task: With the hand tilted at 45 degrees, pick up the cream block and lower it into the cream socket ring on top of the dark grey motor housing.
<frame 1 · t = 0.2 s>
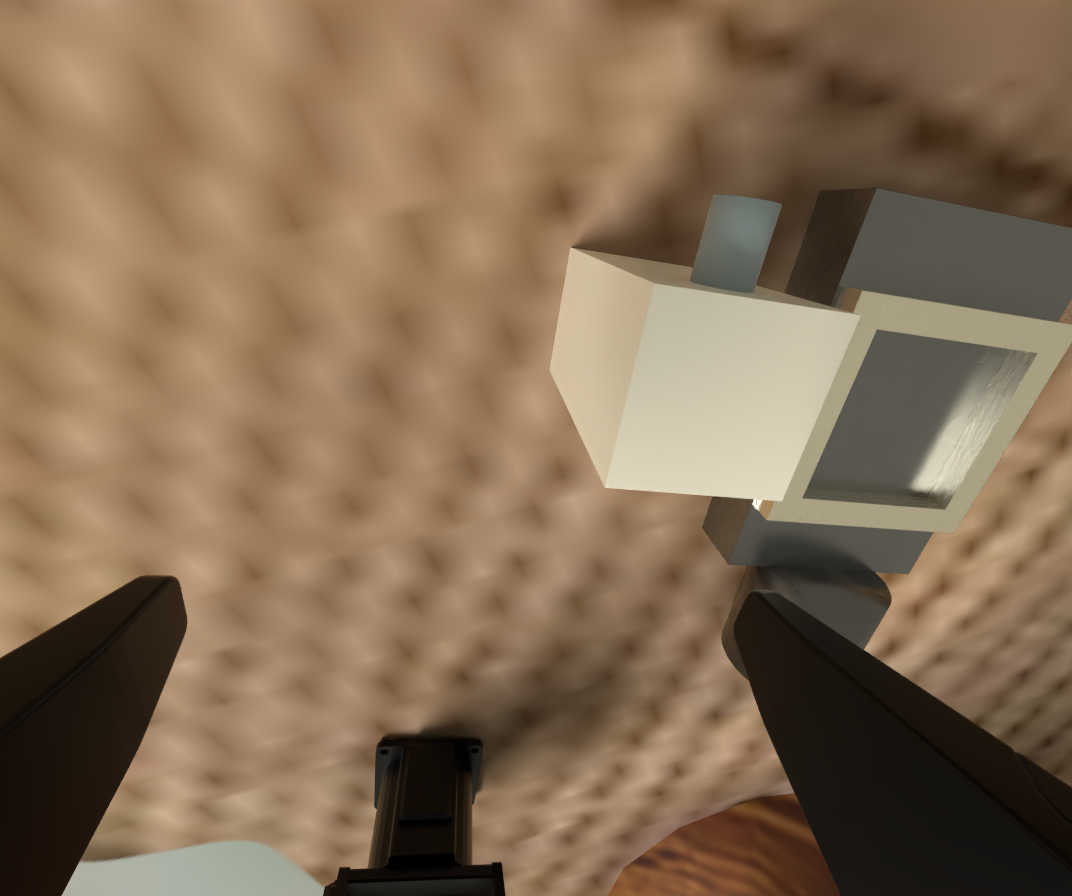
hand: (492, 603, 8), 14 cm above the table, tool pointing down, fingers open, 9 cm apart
motor housing: (848, 395, 24), on the table
wooden planter: (761, 882, 45), on the table
cream block: (617, 320, 21), on the table
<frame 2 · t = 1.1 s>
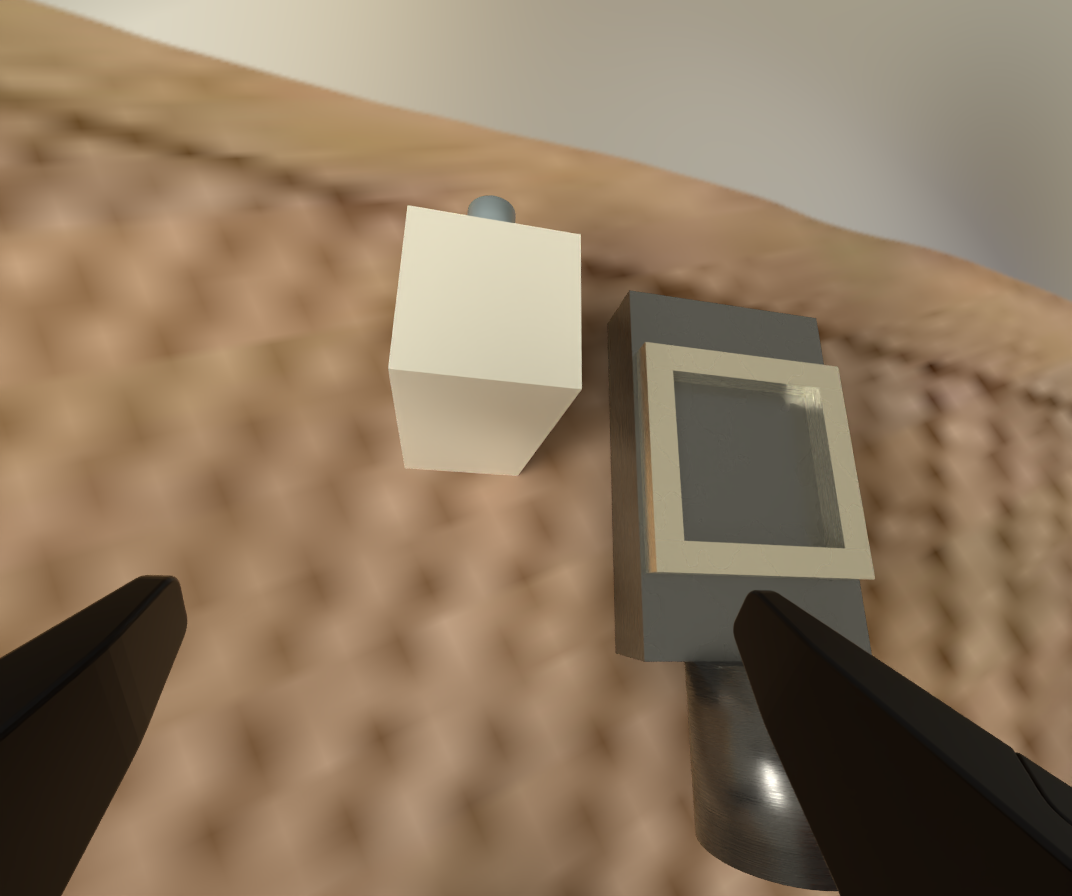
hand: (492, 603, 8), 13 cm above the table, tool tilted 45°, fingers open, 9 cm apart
motor housing: (707, 479, 25), on the table
cream block: (465, 419, 23), on the table
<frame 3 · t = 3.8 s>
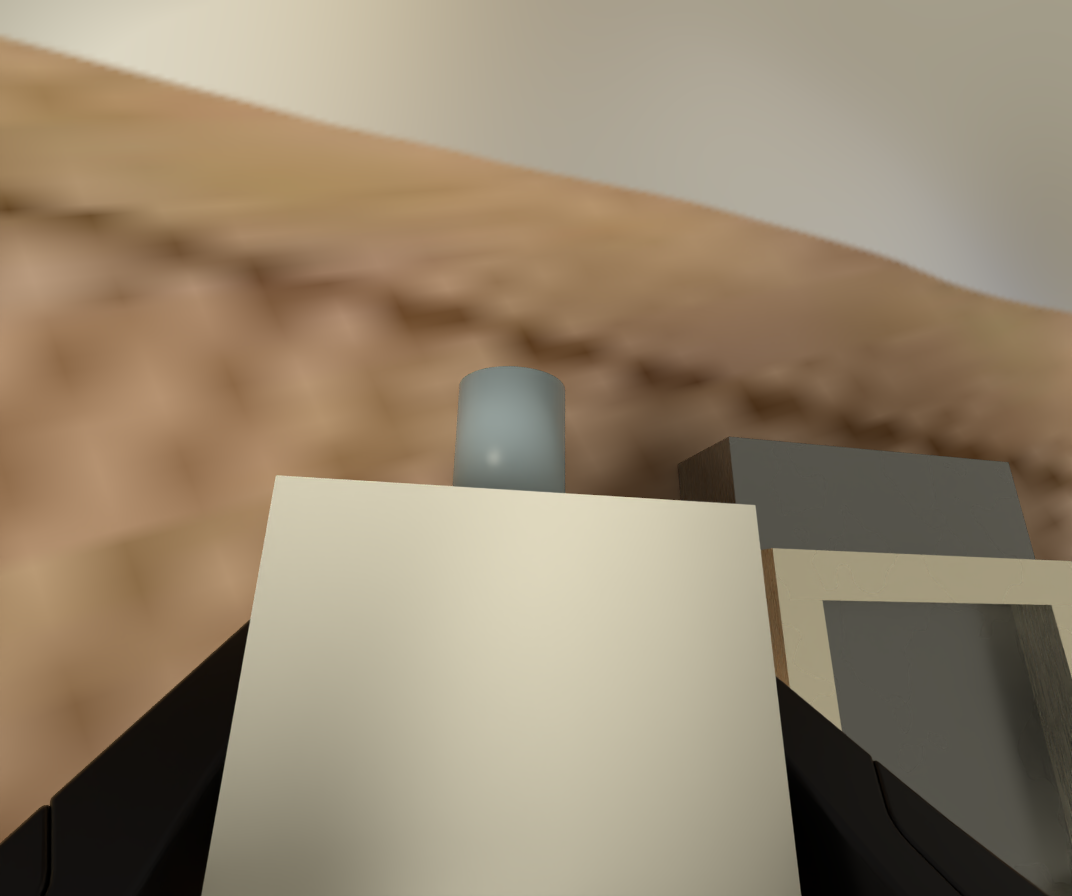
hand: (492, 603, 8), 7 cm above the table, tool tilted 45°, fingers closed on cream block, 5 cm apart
motor housing: (844, 723, 15), on the table
cream block: (459, 655, 14), on the table, touching gripper
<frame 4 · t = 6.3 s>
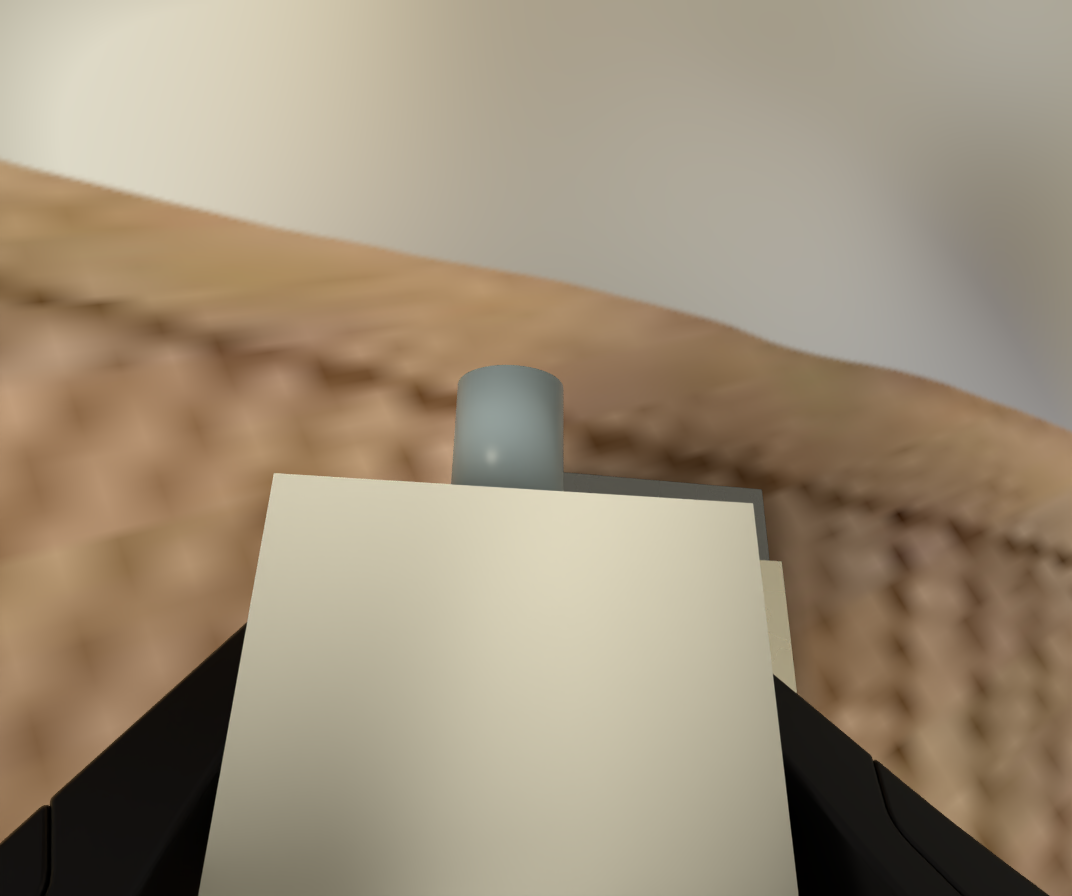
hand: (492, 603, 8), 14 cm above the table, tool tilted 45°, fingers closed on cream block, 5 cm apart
motor housing: (634, 676, 21), on the table
cream block: (458, 654, 14), point 7 cm above the table, touching gripper
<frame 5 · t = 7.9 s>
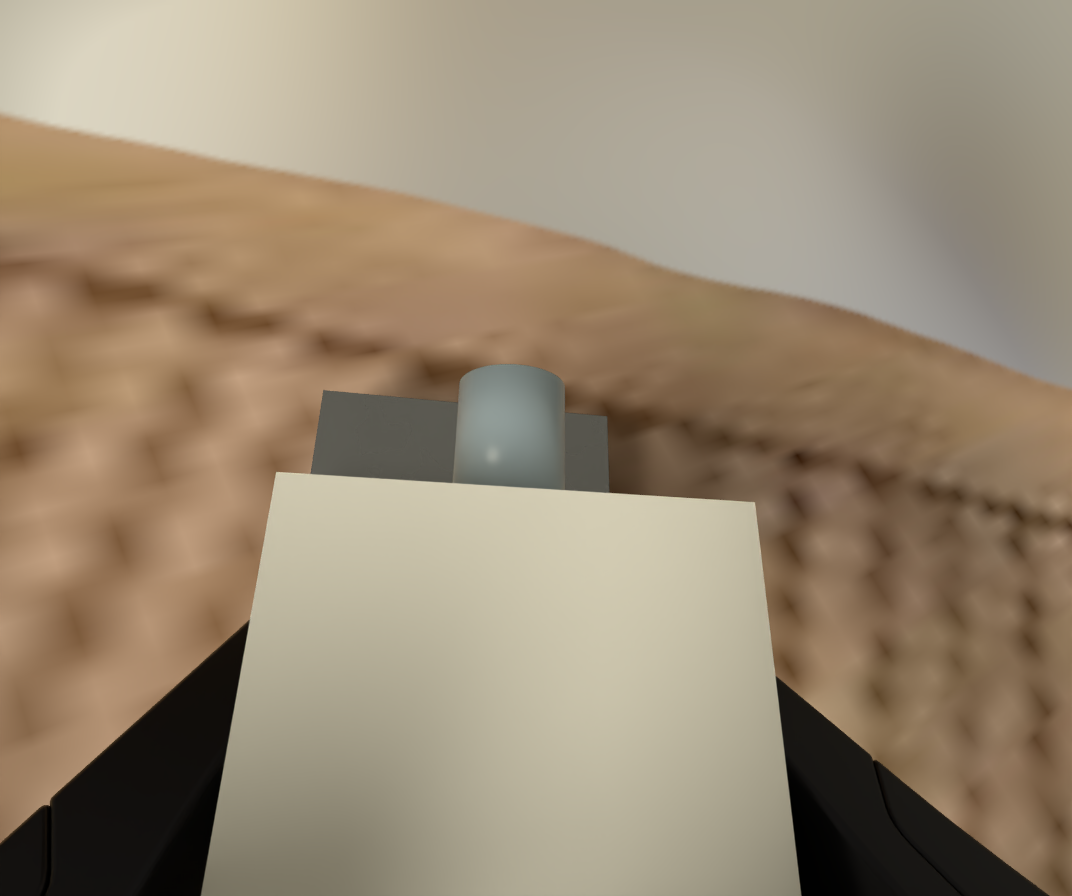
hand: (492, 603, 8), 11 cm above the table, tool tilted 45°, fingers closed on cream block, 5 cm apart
motor housing: (454, 638, 18), on the table
cream block: (459, 654, 14), point 5 cm above the table, touching gripper
when the fingers open (10 cm above the table, at t = 9.0 s): cream block stays where it is, resting on motor housing.
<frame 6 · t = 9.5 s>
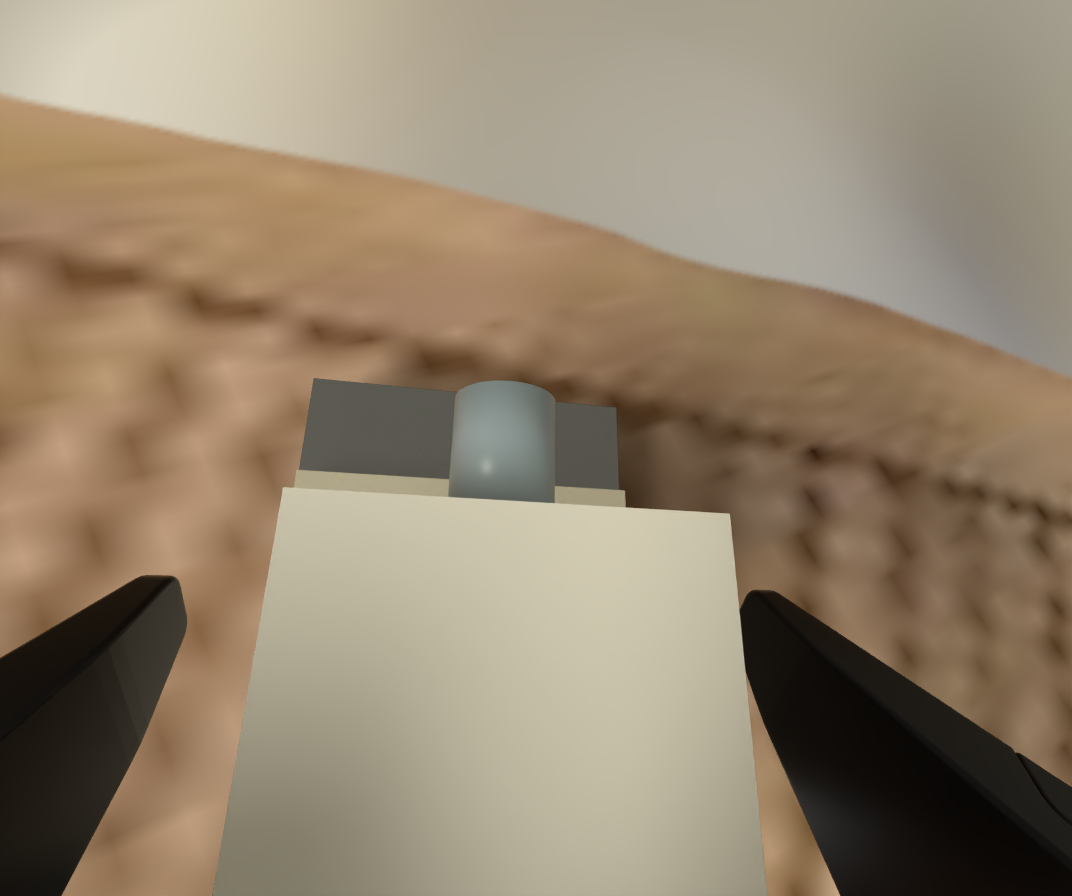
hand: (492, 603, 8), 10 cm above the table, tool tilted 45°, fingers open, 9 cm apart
motor housing: (453, 644, 17), on the table
cream block: (457, 653, 14), point 3 cm above the table, touching motor housing
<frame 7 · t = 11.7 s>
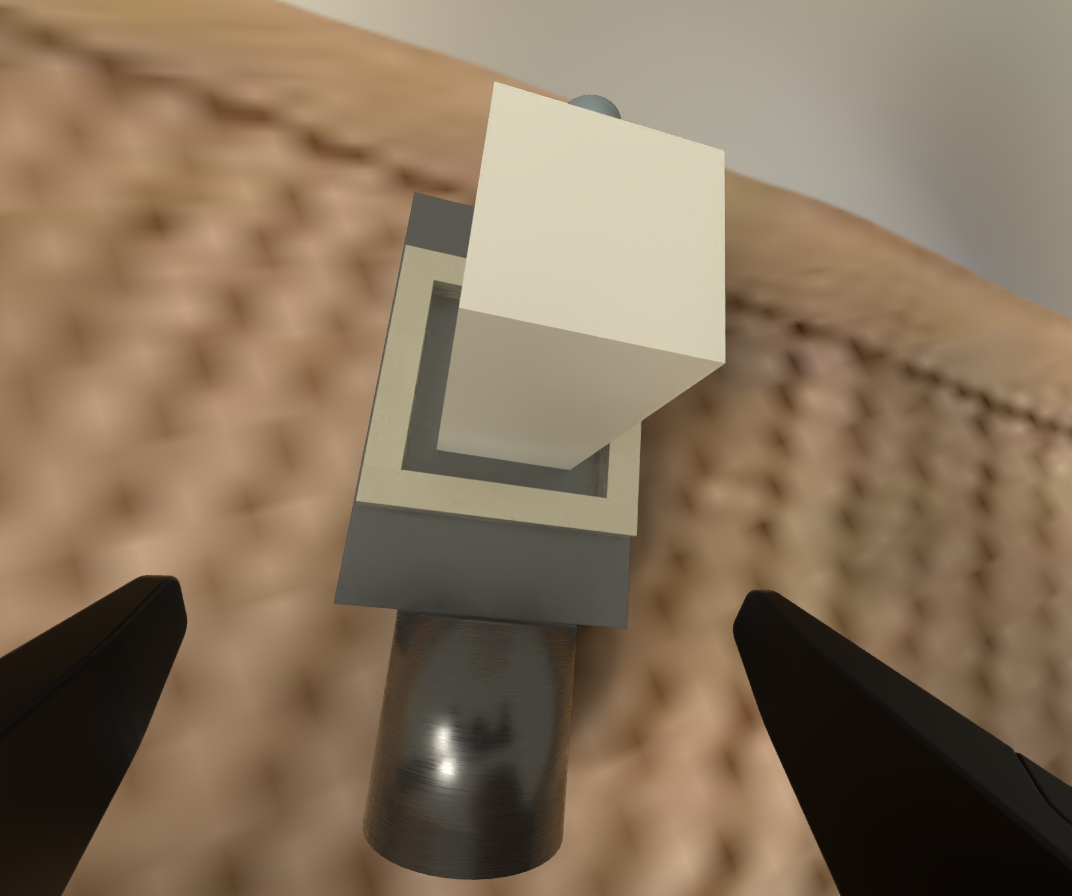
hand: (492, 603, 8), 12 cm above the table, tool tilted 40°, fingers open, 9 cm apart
motor housing: (501, 420, 22), on the table
cream block: (512, 397, 19), point 3 cm above the table, touching motor housing
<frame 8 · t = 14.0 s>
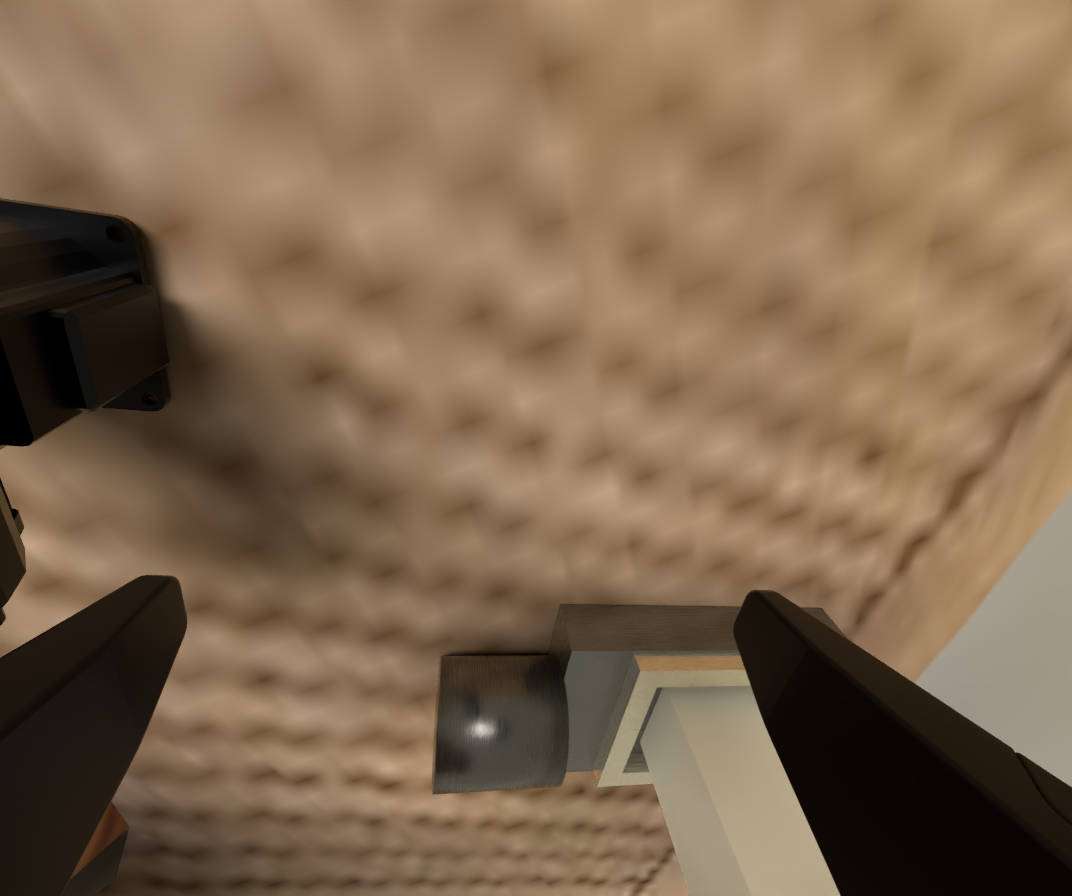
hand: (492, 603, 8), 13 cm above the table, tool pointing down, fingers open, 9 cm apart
motor housing: (673, 666, 30), on the table
cream block: (693, 712, 27), point 3 cm above the table, touching motor housing
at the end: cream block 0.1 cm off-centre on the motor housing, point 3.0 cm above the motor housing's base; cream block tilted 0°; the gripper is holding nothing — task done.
